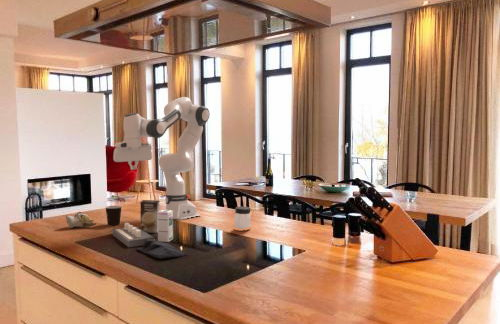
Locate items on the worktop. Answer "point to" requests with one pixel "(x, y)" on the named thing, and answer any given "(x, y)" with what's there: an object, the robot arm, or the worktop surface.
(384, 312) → the worktop surface
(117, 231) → the breaker panel
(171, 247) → the dark slate chunk
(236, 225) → the jar
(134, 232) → the breaker paddles
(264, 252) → the worktop surface
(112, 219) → the coffee mug
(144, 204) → the coffee box
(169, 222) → the syrup box
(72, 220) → the ceramic sculpture
